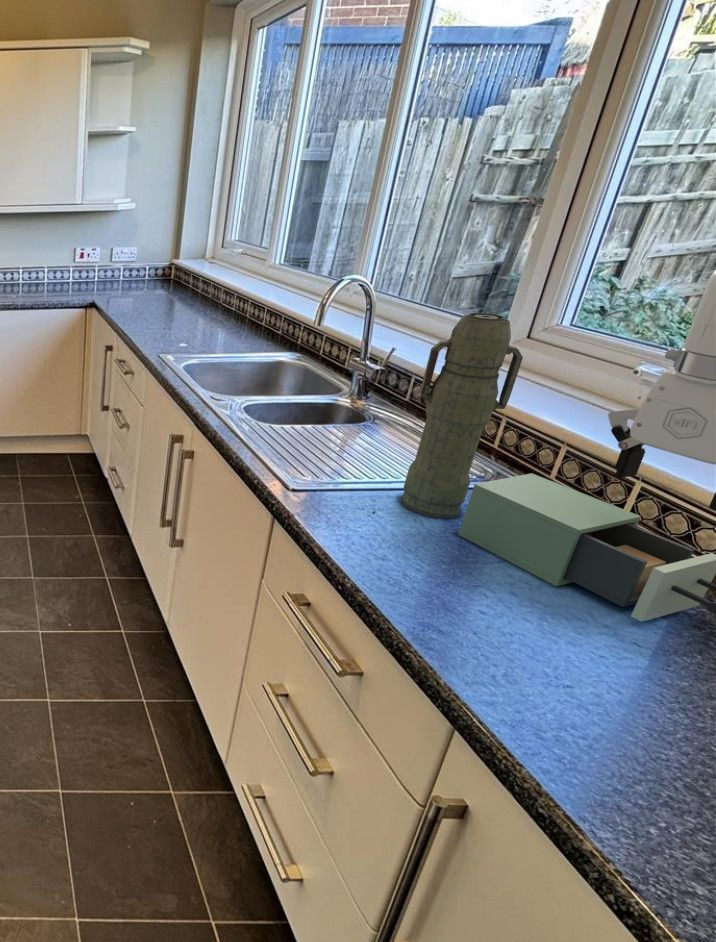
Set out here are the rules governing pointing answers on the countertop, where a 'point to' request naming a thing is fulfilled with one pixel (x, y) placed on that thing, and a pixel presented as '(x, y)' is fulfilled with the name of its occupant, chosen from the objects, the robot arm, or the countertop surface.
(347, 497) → the countertop surface
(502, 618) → the countertop surface
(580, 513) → the sage drawer box
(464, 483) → the thermos
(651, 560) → the block
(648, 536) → the pull-out drawer
